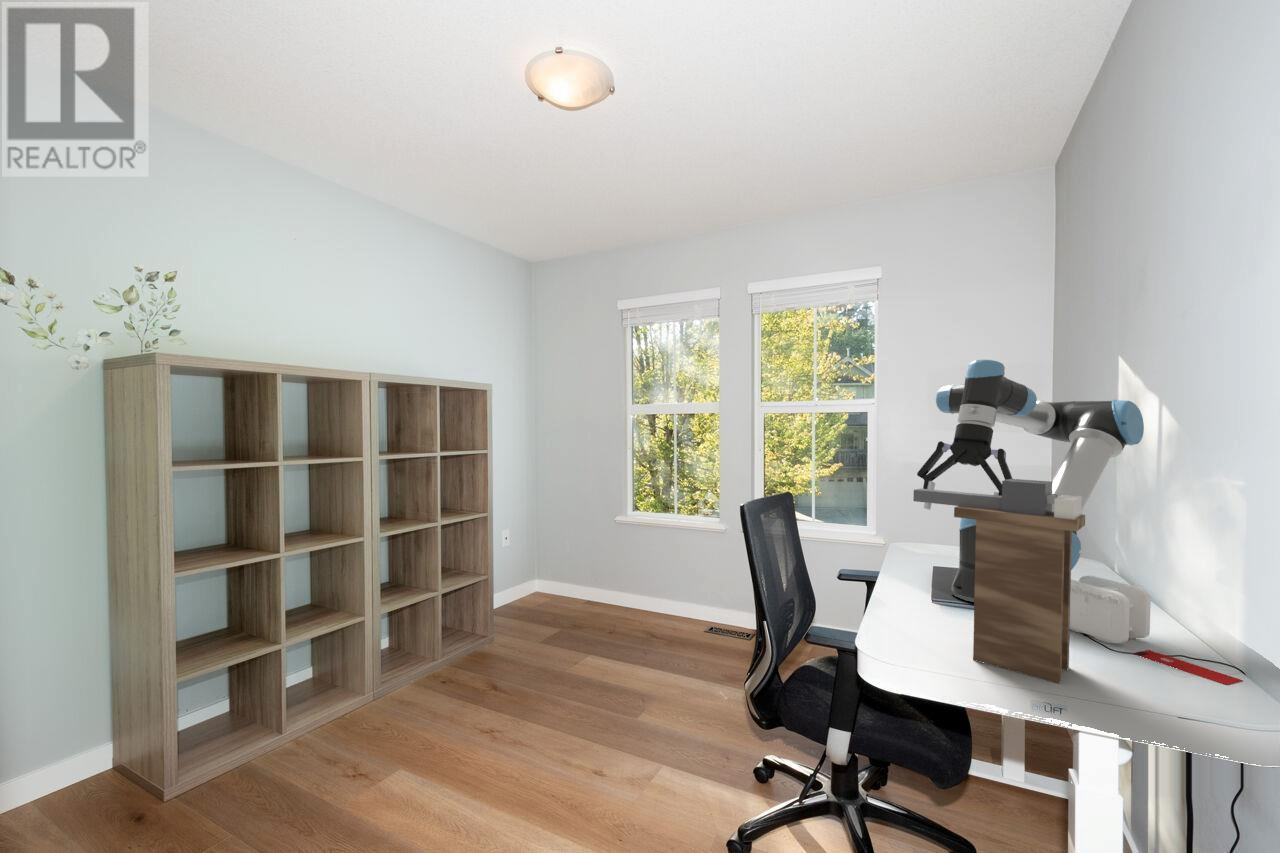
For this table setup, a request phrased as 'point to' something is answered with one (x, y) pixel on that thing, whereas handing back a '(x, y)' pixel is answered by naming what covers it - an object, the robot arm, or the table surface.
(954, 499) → the grey t-shaped block
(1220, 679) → the electronic device
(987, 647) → the shelf
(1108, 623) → the cable organizer
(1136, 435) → the robot arm
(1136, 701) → the table surface
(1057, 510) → the white rectangular block
